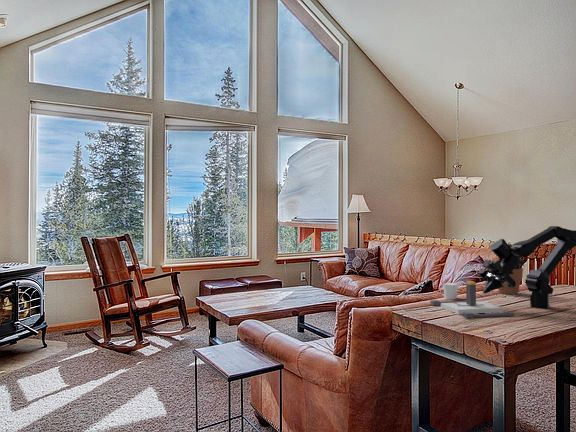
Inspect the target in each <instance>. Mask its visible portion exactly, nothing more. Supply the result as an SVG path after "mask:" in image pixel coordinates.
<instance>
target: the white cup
mask: <svg viewBox="0 0 576 432" xmlns="http://www.w3.org/2000/svg"><path fill="white" fill-rule="evenodd" d="M442 287H443V296H444V299H447V300H457V297H458V287H459V284H458V283H454V282H445V283H444V282H443V283H442Z"/></svg>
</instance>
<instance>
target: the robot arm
mask: <svg viewBox="0 0 576 432" xmlns="http://www.w3.org/2000/svg"><path fill="white" fill-rule="evenodd" d="M554 238H556V243H557V244H556V245H555V246H554V248H553V249H552V251H551V252H550V253H549V255H548V256H547V257H546V259H545V260H544V262H543V263H542V264H541V266H540V267H538V269H531V270H529V273H528V274H527V275H526V276H525V277H526V278H525V286H526V287H527V290H528V292H531V295H530V297H529V299H530V300H529V301H530V302H529V305H530V307H532V308H537V309H539V308H540V309H545V310H546V309H549V308H550V307H551V305H550V295H553V292H554V288H553V287H552V286H551V285H550V281H551V274H552V273H553V272H554V270H555V269H557V267H558V265H559V263H561V261H562V260H563V259H564V257H565V256H566V254H567V253H568V252H569V251H570V250H571V249H573V248H575V247H576V230H575V229H574V230H571V229H568V228H565V227H562V226H558V225H556V226H554V225H550V226H548V227H547V228H546V229H544V230H543V231H541V232H539V233H537V234H535V235H534V236H532V237H530V238H528V239H525V240H521V241H518V242H515V243H513V244H511V245H512V246H509V244H508V243H507V242H506V240H505V239H504V238H500V239H499V240H496V241H495V242H493V243H491V245H490V246H489V248H490V249H489V250H491V252H492V253H493V254H494V255H495V256H496V257H497V258H498V260H497V259H495V260H490V259H484V261H483V264H482V268H486V269H479V271H478V272H477V274H478V276H480V277H481V279H482V280H483V281H484V282H485V285H484V287H483V290H482V294H488V293H490V292H493V291H495V290H498V288H501V287H504V286H503V284H504V283H506V282H507V283H508V287H510V288H514V287H515V286H516V281H515V280H514V279H513V278H512V277H511V276H510V275H512V274H513V272H512V271H513V270H514V269H515V267H516V266H517V265H520V266H521V267H524V266H525V263H524V259H523V258H528V257H529V256H531V255H532V254H533V253H534V252H535V250H536V249H537V248H538V247H540V246H541V245H544V244H545V243H547V242H549V241H550V240H552V239H554ZM518 256H520V259H519V257H518ZM521 257H522V258H521ZM499 259H503V260H502V261H501V262H500V261H499ZM520 266H519V267H520ZM509 274H510V275H509Z"/></svg>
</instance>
